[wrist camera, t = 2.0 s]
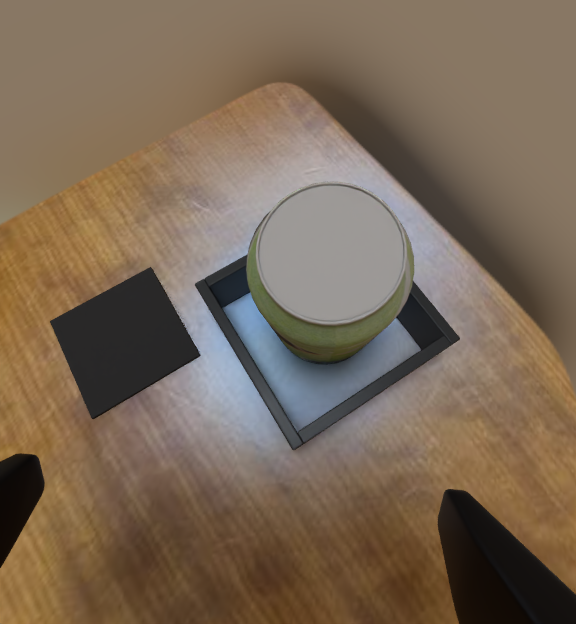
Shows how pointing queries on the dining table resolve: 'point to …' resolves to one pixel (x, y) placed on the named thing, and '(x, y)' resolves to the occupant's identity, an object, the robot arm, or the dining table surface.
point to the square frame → (429, 336)
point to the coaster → (123, 341)
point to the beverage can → (329, 270)
